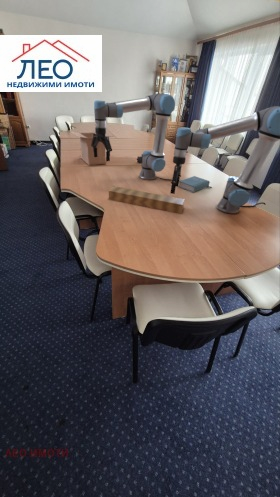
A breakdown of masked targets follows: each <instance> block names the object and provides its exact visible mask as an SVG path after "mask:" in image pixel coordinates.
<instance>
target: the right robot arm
mask: <svg viewBox="0 0 280 497" xmlns="http://www.w3.org/2000/svg"><path fill="white" fill-rule="evenodd" d="M191 130H192V129H191V128H189V127H187V126H186V127H185V126H181V127H178V128H177V130H176V136H175V142H174V150H173V157H172V163H173V164H175V165H174V167H173V174H172V178H171V180H172V181H170V184H171V187H170V192H169V194H173V195H175V194H176V188H179V184H180V182H179V181H180V180H181V179H180V178H181V177H182V168H183V166H182V165H185V164H186V159H187V154H188V153H189V151H188V147H189V148H197V149H198V148H199V149H209V147H210V144H211V141H215V140H219V139H223V138H228V137H230V136H235V135H238V134H242V133H247V132H250V131H255V132H257V131H258V136H259V137H258V139H257V141H256V143H255V145H254V146H253V149H252V150H251V153H250V155H249V157H248V159H247V161H246V163H245V165H244V167H243V169H242V171H241V172H240V174H239V176H229V177H228V178H227V181H226V185H225V188H224V191H223V193H222V194H223V195H222V197H221V198H220V200H219V201H218V204H217V206H216V208H217V209H218V211H219V212H222V213H224V214H230V215H235V214H238V213H239V211H240V208H253V207H256V206H258V205H265V206H266V205H267V203H266V202H262V201H261V202H256V203H255V204H253V205H246V204H247V203H248V202H249V200H250V198H251V196H250V194H251V192H252V191H253V189H254V186H253V183H254V181H255V179H256V178H257V176H258V174H259V172H260V171H261V169H262V167H263V165H264V163H265V162H266V160H267V159H268V156H269V154H270V153H271V151H272V149H273V147H274V145H275V144H276V142H278V141H280V105H274V106H270V107H267V108H265V109H261V110H259V111H255V112H254V113H253V114H251V115H248V116H245V117H241V118H237V119H234V120H231V121H226V122H224V123H220V124H216V125H212V126H209V127H206V128H203V129H202V128H199V129H197V130H196V131H195V132H192V131H191Z"/></svg>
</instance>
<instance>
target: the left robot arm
mask: <svg viewBox="0 0 280 497" xmlns="http://www.w3.org/2000/svg"><path fill="white" fill-rule="evenodd" d="M175 109H176V100H175V98H174V96H173V95H171V94H168V93H161V92H160V93H159V92H158V93H154V94H150V95H145V97H142V98H134V99H126V100H120V101H114V102H113V101H112V102H106V101H105V100H94V102H93V110H94V126H95V128H94V132H95V133H94V134H93V140H92V143H91V146H92V147H93V152H94V157H97V148H96V146H97V145H98V143H99V142H102V143H103V144H104V146H105V157H106V162H110V159H111V158H110V157H111V152H113V148H112V145H111V141H110V137H109V136H105V134H106V133H107V128H106V127H107V118H110V119H112V118H113V119H121V118H123V116H124V114H126V113H133V112H139V111H145V110H146V111H147V112H150V111H154V112H155V113H154V114H155V115H154V116H155V117H156V122H155V129H154V138H153V146H152V150H144V151H143V152H142V154H143V158H142V163H141V169H140V172H139V178H140V179H142V180H146V181H154V180H156V179H160V180H163V181H170V182H172V178H171V179H169V178H163V177H159V176H157V174H156V173H157V172H158V173H161V172H162V171H163V170H164V169H165V167H166V163H167V162H166V160H165V153H164V149H165V143H166V135H167V131H168V130H167V128H168V123H169V119H170V118H171V116H172V113H173V112H174V110H175ZM206 188H210V189H212V186H210V185H209V186H207V187H206Z"/></svg>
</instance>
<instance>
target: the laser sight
mask: <svg viewBox="0 0 280 497" xmlns="http://www.w3.org/2000/svg"><path fill="white" fill-rule="evenodd" d="M142 158H143V153H141V156H137V158H136V161H137V162H136V163H140V164H142Z"/></svg>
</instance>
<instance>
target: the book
mask: <svg viewBox="0 0 280 497" xmlns="http://www.w3.org/2000/svg"><path fill="white" fill-rule="evenodd" d="M210 183H211V182H210V180H207V179H204V178H202V177H199V176H196V175H193V176H191V177H188V178H184V179H182V180H181V179H180V180H179V185H178V188H181V189H183V190H186V191H188V192H191V193H195V192H198V191H200V190H203V189H205V188H208V187H207V186H210Z"/></svg>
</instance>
